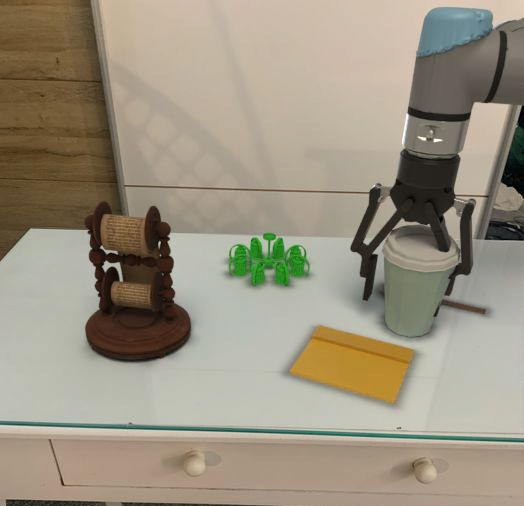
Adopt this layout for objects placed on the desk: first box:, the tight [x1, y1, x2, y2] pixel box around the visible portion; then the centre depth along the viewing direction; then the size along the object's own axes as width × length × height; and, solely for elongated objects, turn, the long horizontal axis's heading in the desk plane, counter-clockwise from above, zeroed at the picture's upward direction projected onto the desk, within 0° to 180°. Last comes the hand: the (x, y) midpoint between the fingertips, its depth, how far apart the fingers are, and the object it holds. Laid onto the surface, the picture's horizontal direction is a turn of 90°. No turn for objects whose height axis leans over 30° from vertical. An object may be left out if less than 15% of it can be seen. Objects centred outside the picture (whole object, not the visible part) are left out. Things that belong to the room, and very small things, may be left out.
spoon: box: [380, 283, 487, 315], centre depth 91 cm, size 17×6×1 cm, turn 66°
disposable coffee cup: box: [381, 224, 461, 338], centre depth 80 cm, size 11×11×15 cm
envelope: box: [289, 324, 415, 405], centre depth 76 cm, size 14×12×2 cm
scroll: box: [83, 200, 192, 360], centre depth 75 cm, size 15×15×20 cm
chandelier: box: [228, 232, 311, 287], centre depth 97 cm, size 15×15×7 cm
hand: (400, 304), depth 83 cm, fingers open, 10 cm apart
